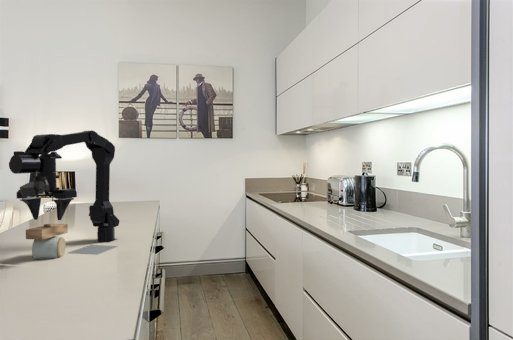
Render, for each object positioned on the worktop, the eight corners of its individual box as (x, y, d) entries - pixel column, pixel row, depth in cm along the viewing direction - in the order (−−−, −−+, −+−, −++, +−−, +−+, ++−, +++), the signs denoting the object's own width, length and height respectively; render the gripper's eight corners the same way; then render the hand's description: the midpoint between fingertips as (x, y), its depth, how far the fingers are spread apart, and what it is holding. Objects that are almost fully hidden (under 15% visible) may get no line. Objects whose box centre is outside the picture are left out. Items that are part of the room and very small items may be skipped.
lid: (52, 232, 123) (52, 221, 123) (67, 232, 122) (67, 221, 121) (25, 239, 112) (25, 227, 112) (42, 239, 111) (41, 227, 111)
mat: (90, 246, 133) (90, 244, 133) (118, 247, 131) (118, 246, 131) (66, 254, 122) (66, 252, 122) (97, 256, 119) (97, 254, 119)
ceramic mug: (59, 260, 114) (58, 237, 114) (31, 262, 112) (30, 238, 112) (70, 253, 124) (69, 231, 124) (44, 254, 123) (44, 232, 123)
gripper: (0, 173, 110) (2, 223, 111) (50, 173, 106) (52, 224, 107) (30, 172, 121) (31, 217, 122) (77, 172, 117) (78, 218, 118)
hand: (47, 219), depth 117 cm, fingers open, 9 cm apart
